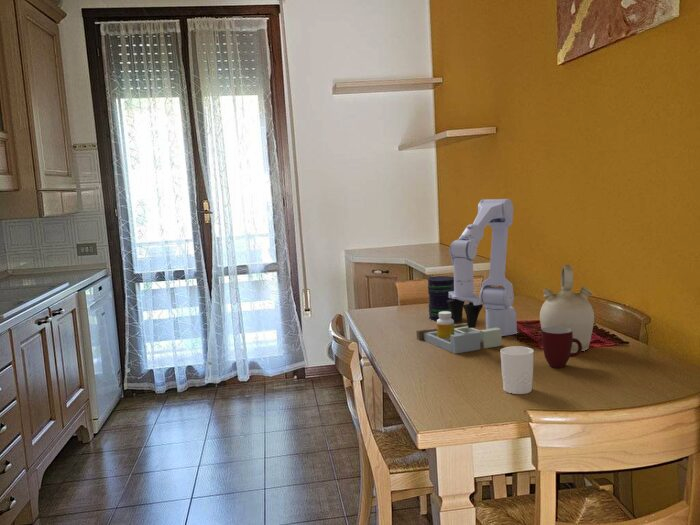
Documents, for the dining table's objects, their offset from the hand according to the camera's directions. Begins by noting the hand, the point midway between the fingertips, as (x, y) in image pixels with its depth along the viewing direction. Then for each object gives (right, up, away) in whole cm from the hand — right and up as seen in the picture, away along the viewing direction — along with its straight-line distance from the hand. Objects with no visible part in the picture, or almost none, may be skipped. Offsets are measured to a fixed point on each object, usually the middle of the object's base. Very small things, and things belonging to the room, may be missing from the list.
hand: (464, 325), depth 197 cm
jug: (+30, -7, -1) cm, 31 cm away
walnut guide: (0, -6, +11) cm, 13 cm away
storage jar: (0, -2, +45) cm, 45 cm away
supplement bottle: (-4, -7, +12) cm, 14 cm away
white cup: (+7, -13, -36) cm, 38 cm away
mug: (+23, -10, -18) cm, 31 cm away
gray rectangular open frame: (-3, -7, +9) cm, 12 cm away
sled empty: (+6, -6, +12) cm, 15 cm away
